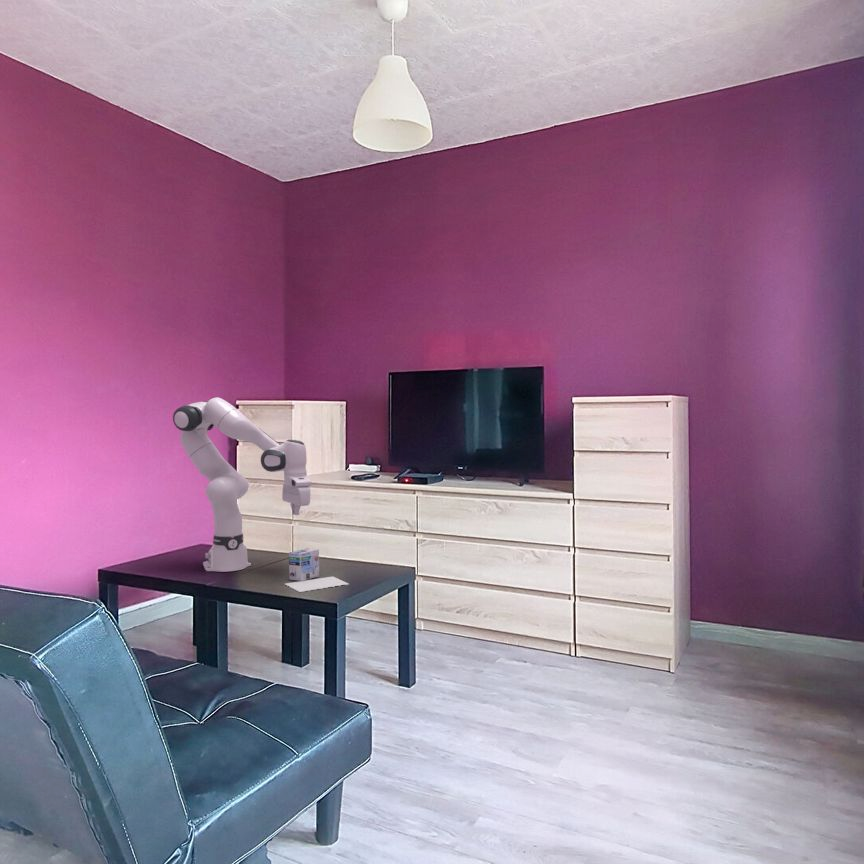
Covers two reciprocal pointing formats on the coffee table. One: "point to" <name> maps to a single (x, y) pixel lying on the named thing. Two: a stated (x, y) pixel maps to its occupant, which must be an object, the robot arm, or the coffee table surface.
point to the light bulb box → (303, 564)
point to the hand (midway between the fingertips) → (295, 514)
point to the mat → (316, 584)
